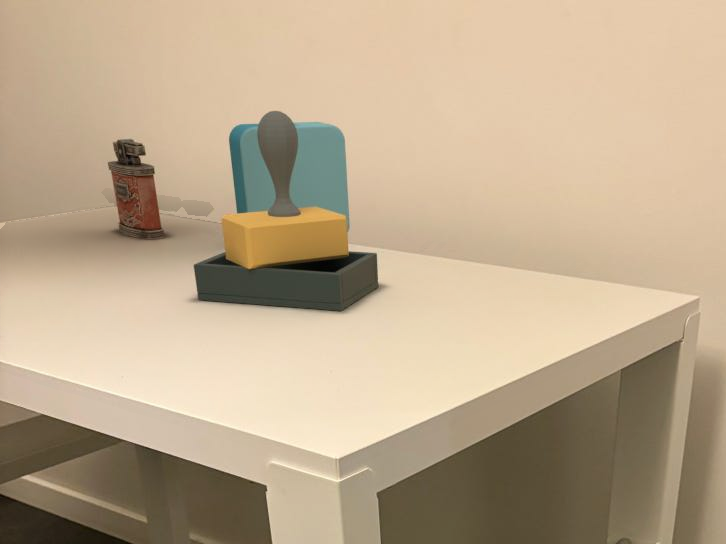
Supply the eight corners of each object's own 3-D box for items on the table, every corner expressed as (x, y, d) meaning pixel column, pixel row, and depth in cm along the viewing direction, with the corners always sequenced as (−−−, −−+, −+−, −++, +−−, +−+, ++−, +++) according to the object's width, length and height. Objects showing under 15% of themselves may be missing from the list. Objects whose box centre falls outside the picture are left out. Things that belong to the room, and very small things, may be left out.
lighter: (113, 230, 118) (96, 137, 113) (139, 227, 120) (124, 136, 115) (144, 240, 113) (128, 143, 108) (171, 236, 115) (157, 141, 110)
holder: (341, 311, 87) (338, 274, 85) (197, 300, 90) (193, 264, 88) (378, 286, 95) (377, 252, 93) (246, 277, 98) (242, 244, 96)
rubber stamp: (321, 247, 95) (312, 106, 89) (350, 257, 91) (342, 111, 85) (224, 258, 90) (206, 110, 84) (250, 269, 86) (233, 115, 80)
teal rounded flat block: (336, 233, 118) (329, 121, 112) (351, 239, 115) (344, 124, 109) (239, 241, 113) (226, 124, 107) (251, 248, 110) (238, 127, 104)
